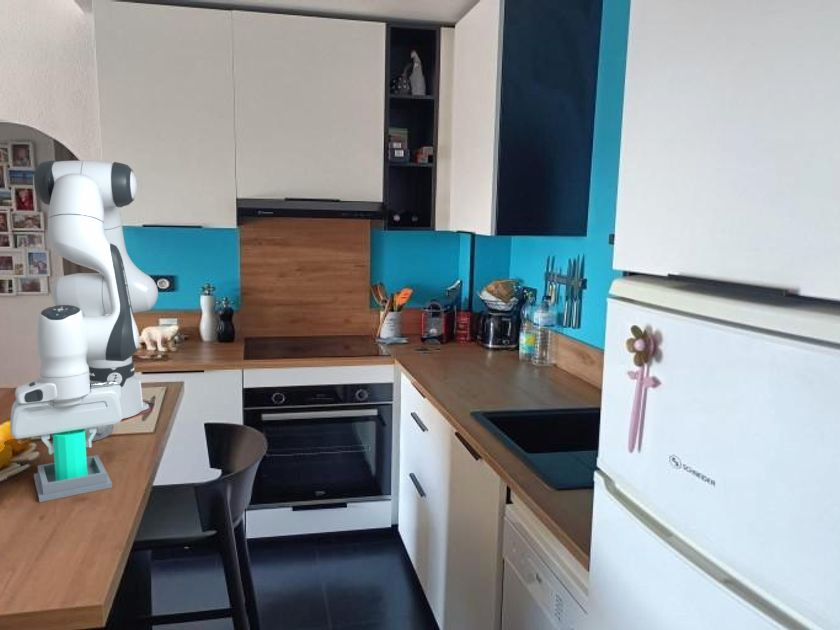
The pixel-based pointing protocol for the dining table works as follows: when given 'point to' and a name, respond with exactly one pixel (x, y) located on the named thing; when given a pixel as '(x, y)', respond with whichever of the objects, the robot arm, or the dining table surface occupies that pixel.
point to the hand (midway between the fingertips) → (70, 450)
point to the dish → (100, 432)
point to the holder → (71, 481)
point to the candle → (70, 454)
